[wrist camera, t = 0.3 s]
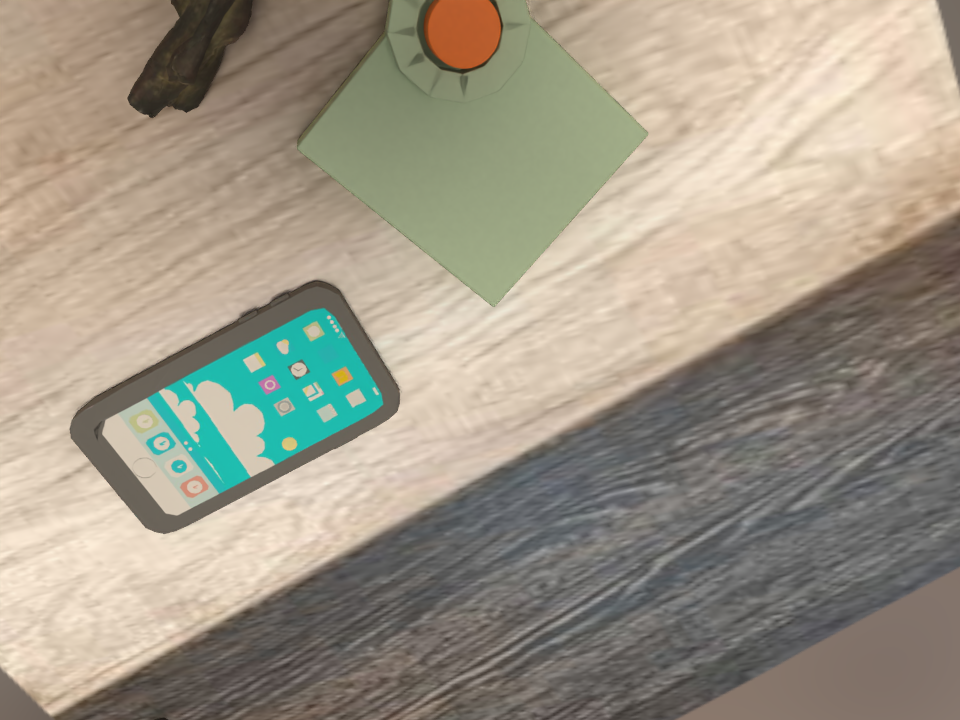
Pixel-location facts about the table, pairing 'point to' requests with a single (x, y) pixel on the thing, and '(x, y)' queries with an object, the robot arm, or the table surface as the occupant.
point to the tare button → (462, 31)
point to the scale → (472, 144)
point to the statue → (189, 55)
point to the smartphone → (238, 409)
